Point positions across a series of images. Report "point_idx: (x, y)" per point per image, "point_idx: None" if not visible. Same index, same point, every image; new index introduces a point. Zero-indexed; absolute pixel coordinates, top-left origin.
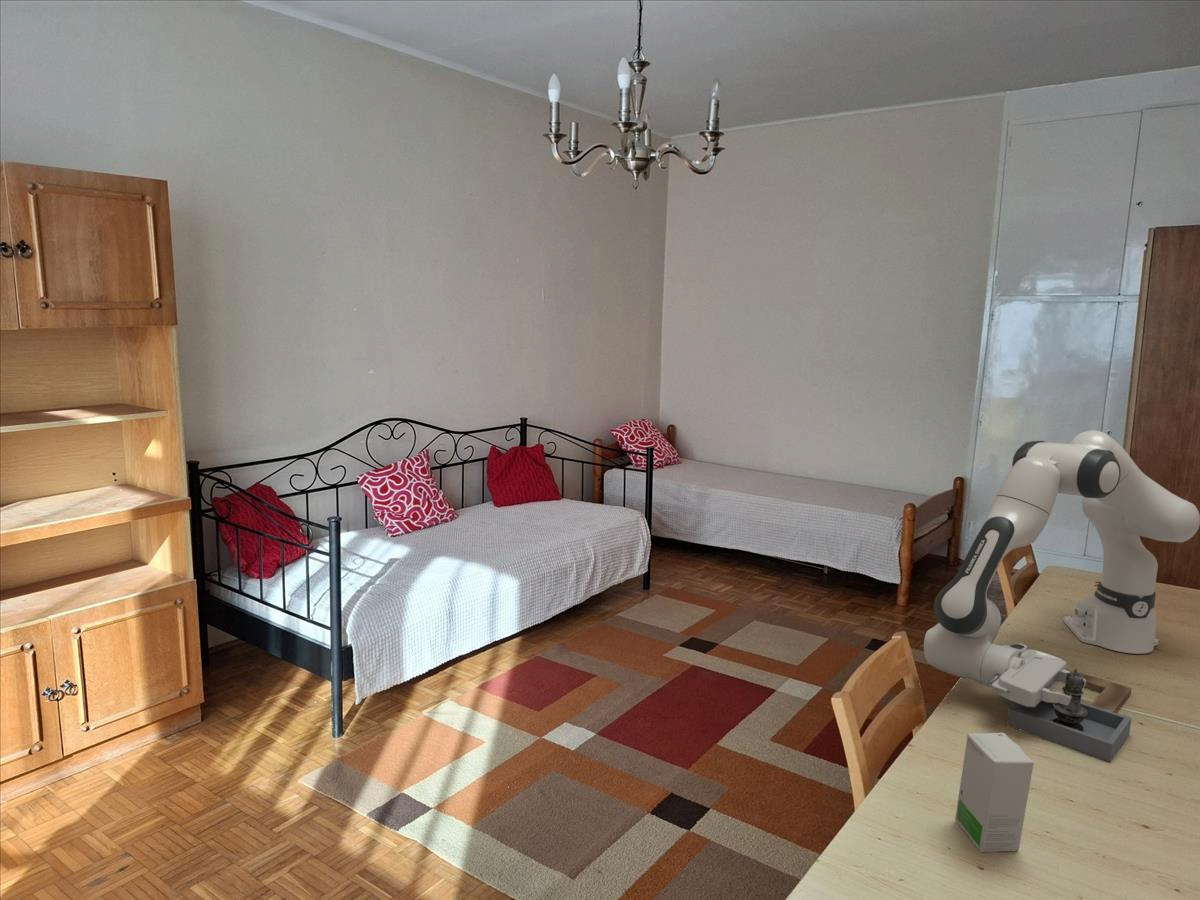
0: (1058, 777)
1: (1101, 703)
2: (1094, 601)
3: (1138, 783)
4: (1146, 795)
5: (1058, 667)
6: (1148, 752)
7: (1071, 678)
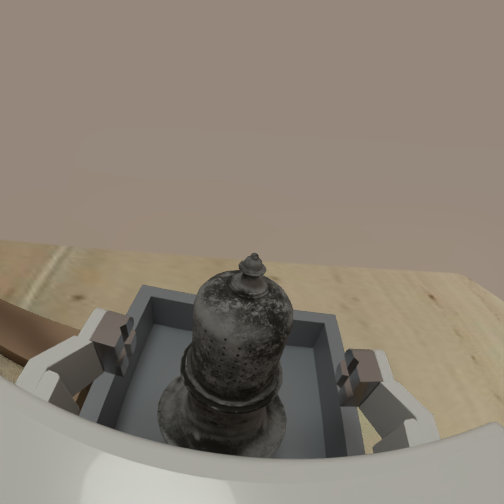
0: (450, 390)
1: (31, 343)
2: None
3: (350, 308)
4: (372, 299)
5: (33, 405)
6: None
7: (291, 318)
